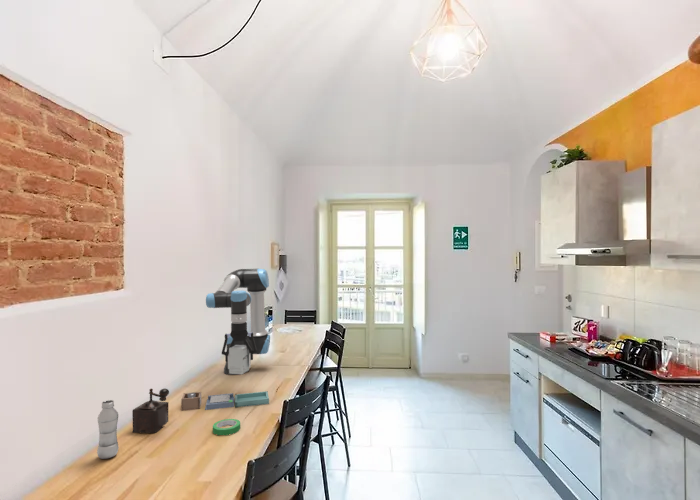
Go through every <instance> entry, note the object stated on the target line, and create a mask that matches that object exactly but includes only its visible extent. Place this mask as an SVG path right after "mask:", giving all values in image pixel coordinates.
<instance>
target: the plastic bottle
mask: <svg viewBox="0 0 700 500" xmlns="http://www.w3.org/2000/svg"><path fill="white" fill-rule="evenodd" d="M114 403H115V401H114V400H113V399H110V400H109V399H108V400H105V401H102V402H101V411H100V412H99V414H98V416H97V426H98V432H99V437H98V445H97V450H96V451H97V452H96V453H97V457H98V458H99V459H101V460H102V459H103V460H107V459H111V458H113V457H115V456H116V455H117V454H118V452H119V442H118V436H117V431H118V421H119V412H118V411H117V409H115V404H114Z"/></svg>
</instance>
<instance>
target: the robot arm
mask: <svg viewBox="0 0 700 500" xmlns="http://www.w3.org/2000/svg"><path fill="white" fill-rule="evenodd" d="M269 287H270V281H269V275H268V271H267V270H266V269H265V268H240V269H237V270H233V271H232V272H230V273H229V274H227V275H226V276H225V277H224V279H223V282H222V284H221V285H220V287H218V288H217V290H216V291H215V292H214V293H213V292H210V293H207V295H206V296H205V305H206V307H207V308H209V309H224V308H226V309H227V308H228V309H229V308H230V322H231V324H230V333H225V334H224V341H223V346H222V349H221V350H222V351H221V355H223V356H224V357H225V363H224V364H225V365H224V367H223V373H224V374H225V375H228V376H229V375H232V376H235V375H238V374H229V348H232V347H233V346H235V345H246V346H247V348H248V350H249V368H251V367H252V365H251V364H252V363H251V362H252V361H253V359H254V355H265V354H268V353H269V350H270V344H271V335H270V334H268V331H267V330H266V321H265V320H266V319H265V292H266V291H267V288H269ZM238 289H246V290H238ZM248 306H250V307H249V308H250V309H249V311H250V331H248V322H247V321H248V310H247V307H248ZM249 371H250V369H249V370H248V371H246V372H245V373H244V374H246V373H248V372H249Z"/></svg>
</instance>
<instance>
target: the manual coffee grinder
mask: <svg viewBox="0 0 700 500" xmlns="http://www.w3.org/2000/svg"><path fill="white" fill-rule="evenodd" d="M148 394H149V400H148V401H145V402H143V403H142V404H140V405H138V406H137V407H135V408H133V409H132V431H131V432H132V433H134V434H135V433H136V434H155V433H157V432H159V431H160V430H162V429H164V428H165V425H166V424H168V422H169V401H167V396H168V395H169V394H170V391H169V389H168V388H162V389H160V390H159V393H154V392H153V388H150V389H149V393H148ZM154 396H155V397H157V398H159V401H158V400H153V397H154Z"/></svg>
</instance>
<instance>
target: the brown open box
mask: <svg viewBox="0 0 700 500" xmlns="http://www.w3.org/2000/svg"><path fill="white" fill-rule="evenodd" d="M188 393H189V392H185V393H183V395H182V397H181V400H180V403H181V409H180V410H181V411H190V410H200V409H201V405H202V391H196V392H194V393H196V397H194V398H188Z"/></svg>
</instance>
